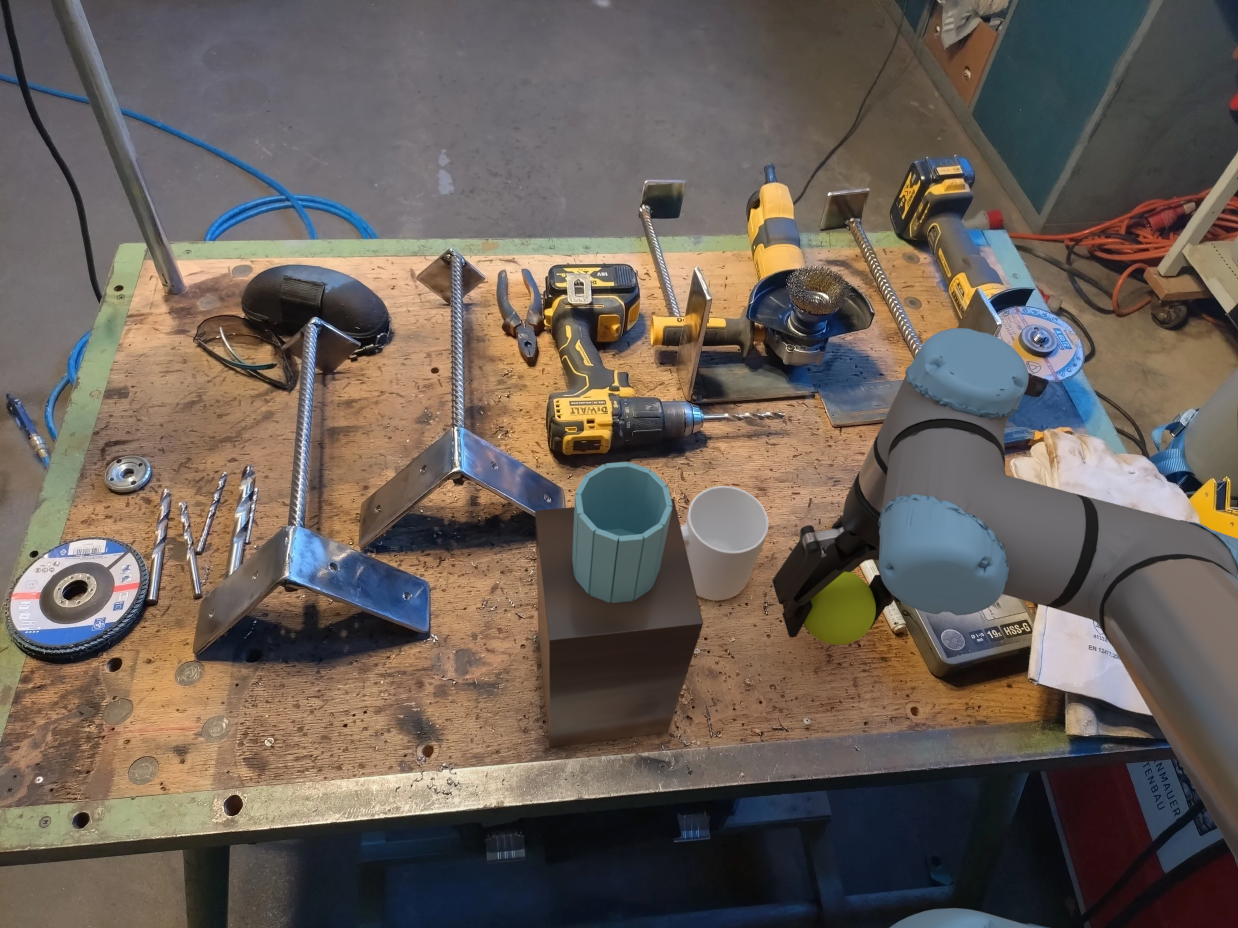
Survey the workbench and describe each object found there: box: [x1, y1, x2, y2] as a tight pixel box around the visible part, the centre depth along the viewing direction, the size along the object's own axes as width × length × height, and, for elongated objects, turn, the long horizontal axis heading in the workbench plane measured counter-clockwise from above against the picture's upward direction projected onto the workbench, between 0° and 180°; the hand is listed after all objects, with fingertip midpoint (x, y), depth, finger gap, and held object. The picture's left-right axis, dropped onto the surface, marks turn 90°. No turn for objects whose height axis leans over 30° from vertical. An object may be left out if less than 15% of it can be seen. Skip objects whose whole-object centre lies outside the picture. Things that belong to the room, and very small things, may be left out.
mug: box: [680, 485, 770, 601], centre depth 89 cm, size 9×12×11 cm
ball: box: [803, 571, 876, 646], centre depth 81 cm, size 8×8×8 cm
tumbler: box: [572, 461, 672, 603], centre depth 61 cm, size 7×7×9 cm
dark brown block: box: [534, 498, 704, 749], centre depth 74 cm, size 12×12×24 cm
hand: (826, 621), depth 84 cm, fingers closed on ball, 7 cm apart
